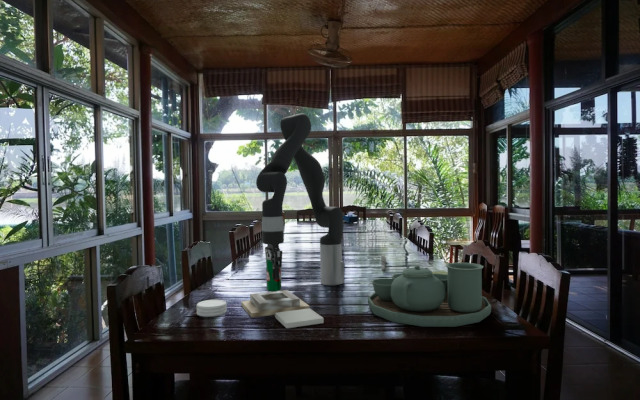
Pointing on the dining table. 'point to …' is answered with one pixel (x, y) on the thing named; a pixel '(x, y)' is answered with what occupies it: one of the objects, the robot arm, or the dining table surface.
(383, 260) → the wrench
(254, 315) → the socket board
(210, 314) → the white ribbed disc
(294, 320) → the tile
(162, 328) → the dining table surface
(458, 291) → the tea set
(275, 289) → the soda can
